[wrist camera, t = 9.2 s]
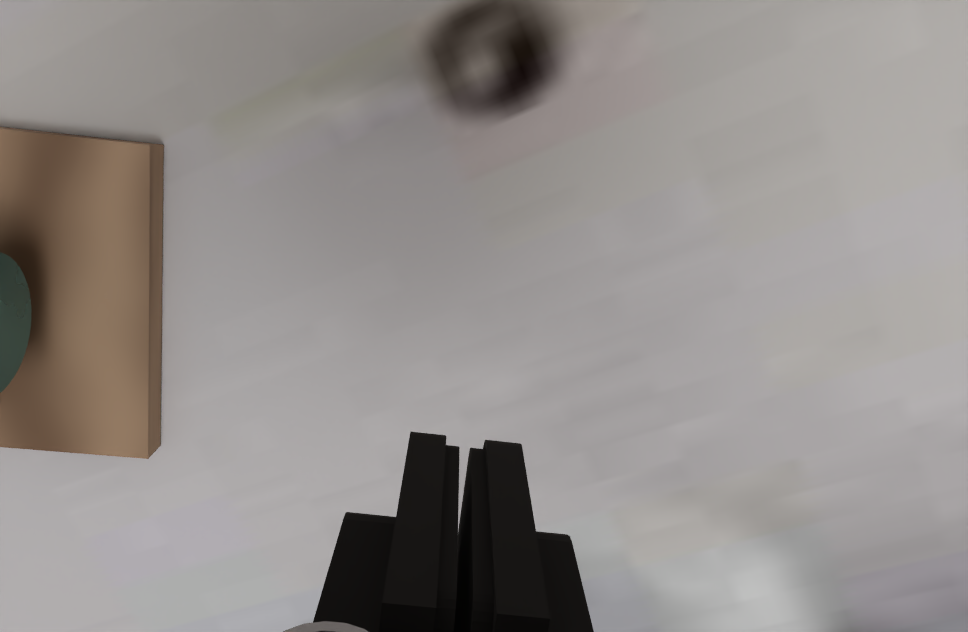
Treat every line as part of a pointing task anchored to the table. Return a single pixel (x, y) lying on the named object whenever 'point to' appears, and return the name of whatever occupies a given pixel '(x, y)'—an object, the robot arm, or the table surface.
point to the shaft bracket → (85, 292)
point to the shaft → (13, 318)
